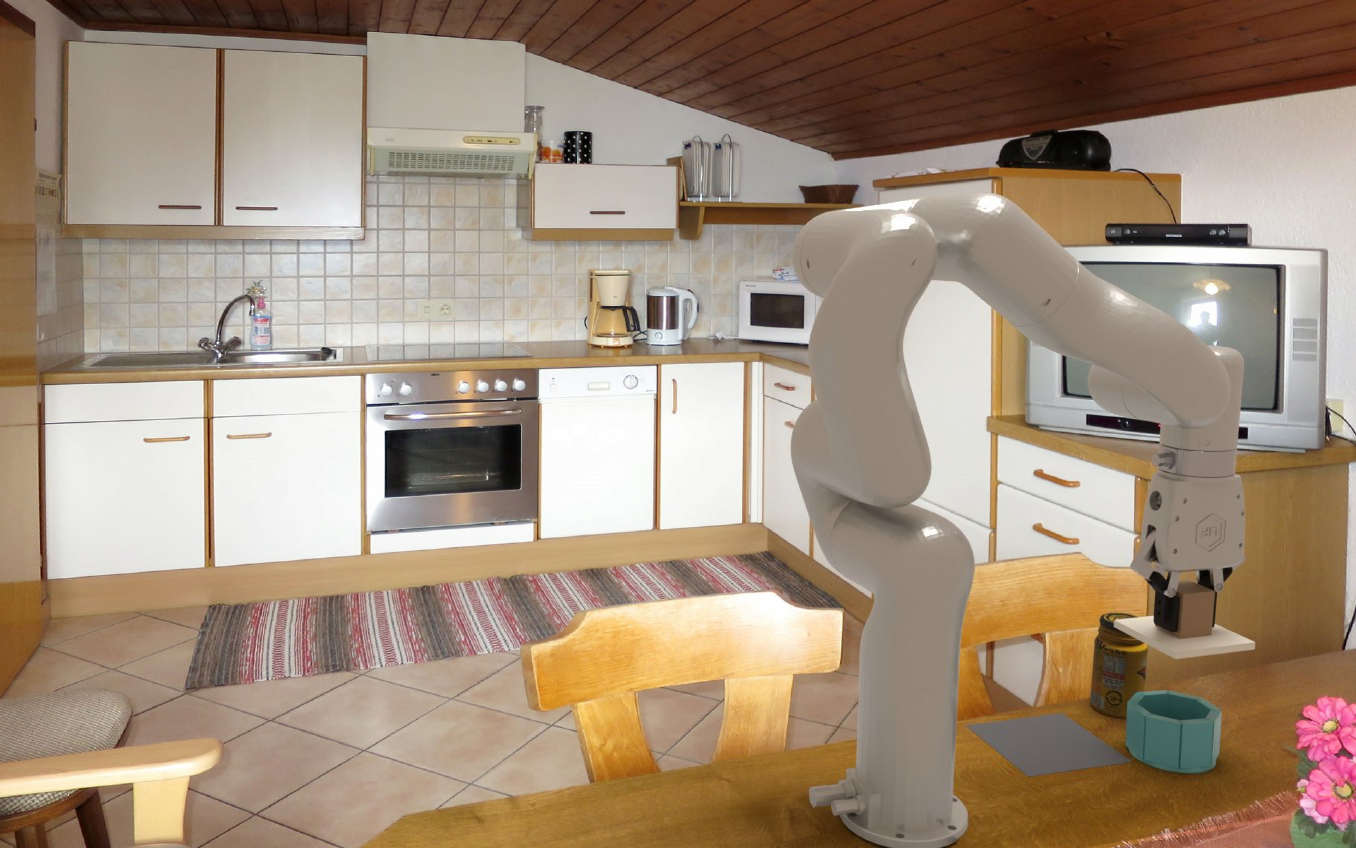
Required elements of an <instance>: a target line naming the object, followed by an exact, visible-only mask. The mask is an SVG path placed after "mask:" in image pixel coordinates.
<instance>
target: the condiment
mask: <svg viewBox="0 0 1356 848" xmlns="http://www.w3.org/2000/svg"><path fill="white" fill-rule="evenodd" d="M1137 617H1139V616H1137V615H1134V614H1130V613H1125V612H1106V613H1103V614H1101V616H1100V618H1099V620H1098V621H1099V626H1098V629H1097V632H1098V634H1097V635H1096V637H1095V638H1094V646H1093V658H1092V668H1091V669H1092V671H1091V686H1090V698H1089V701H1090V705H1091V708H1092V709H1093V710H1095V711H1096V712H1098V713H1100V714H1102V715H1104V716H1109V717H1112V718H1117V719H1118V718H1120V719H1127V702H1128V701H1129V700H1130V699H1131V698H1132V697H1133V696H1134V695H1135V693H1137V692H1145V689H1146V677H1147V662H1148V652H1149V647H1148V646H1149V645H1147V644H1146V643H1144V642H1142V641H1140V640H1138V639H1136V638H1134V637H1132V636H1130V635H1128V634H1127V633H1125V632H1123V631H1121V630H1119V629H1117V628H1115V627H1114V620H1119V619H1128V618H1137Z"/></svg>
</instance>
